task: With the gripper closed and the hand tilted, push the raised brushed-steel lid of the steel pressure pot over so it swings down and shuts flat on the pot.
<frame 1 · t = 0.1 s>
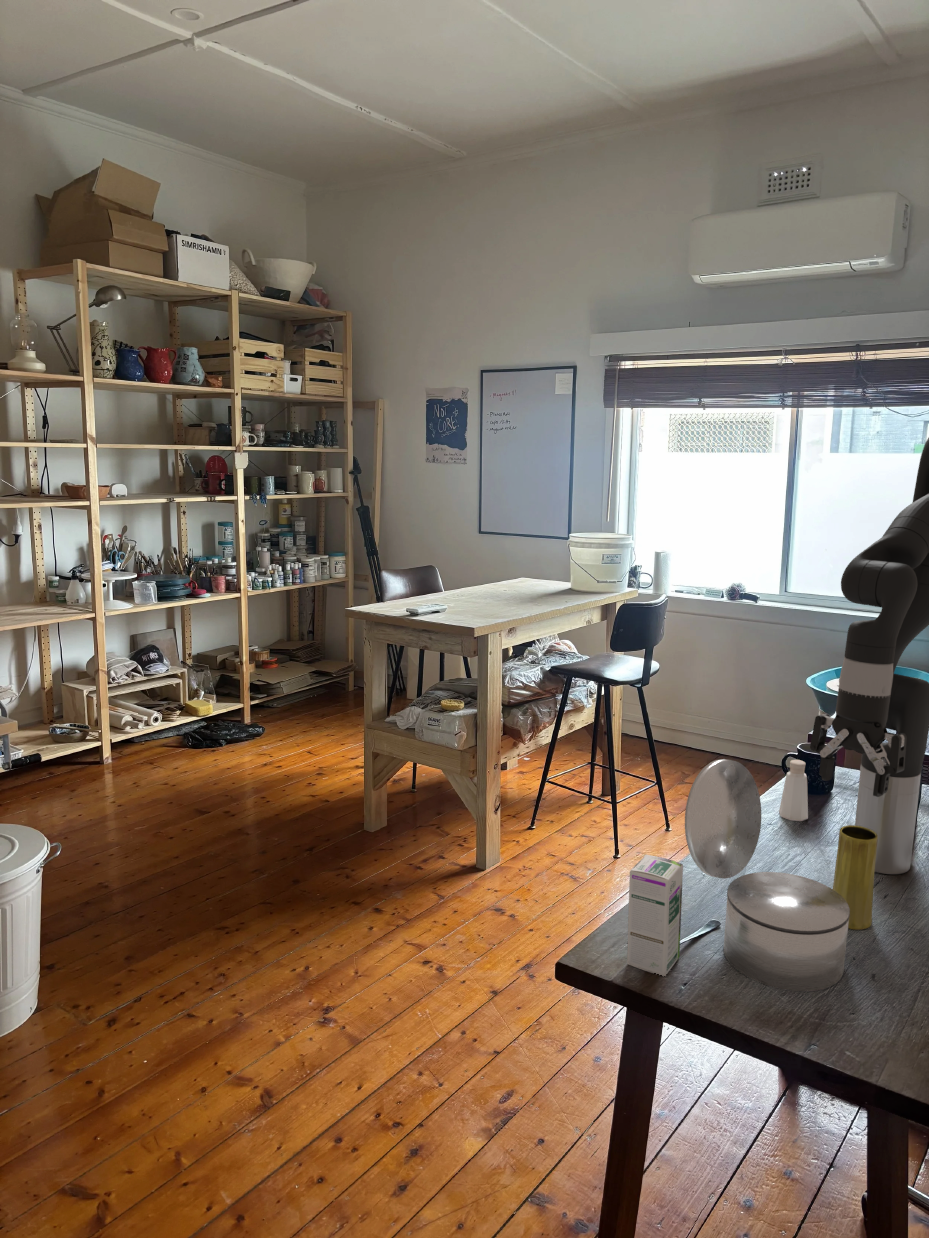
hand: (851, 787, 144), 17 cm above the table, tool pointing down, fingers open, 8 cm apart
syrup box: (652, 962, 127), on the table
vase: (849, 920, 138), on the table
pot lid: (719, 817, 133), point 17 cm above the table, hinge at 102.0°
pepper shaker: (793, 816, 175), on the table
steel pot: (782, 957, 128), on the table
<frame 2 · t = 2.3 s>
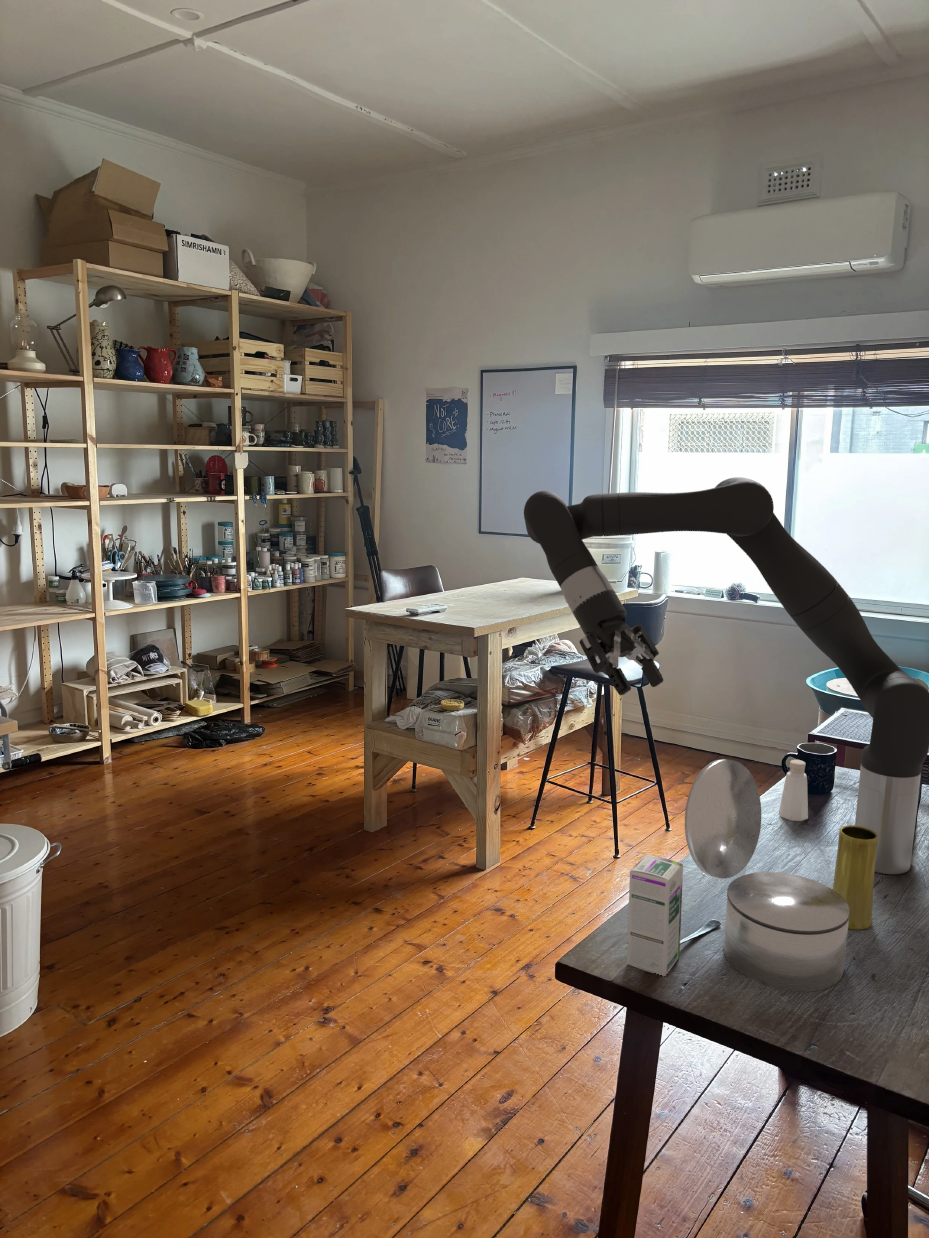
hand: (642, 688, 140), 34 cm above the table, tool tilted 40°, fingers open, 8 cm apart
nothing on the table moved.
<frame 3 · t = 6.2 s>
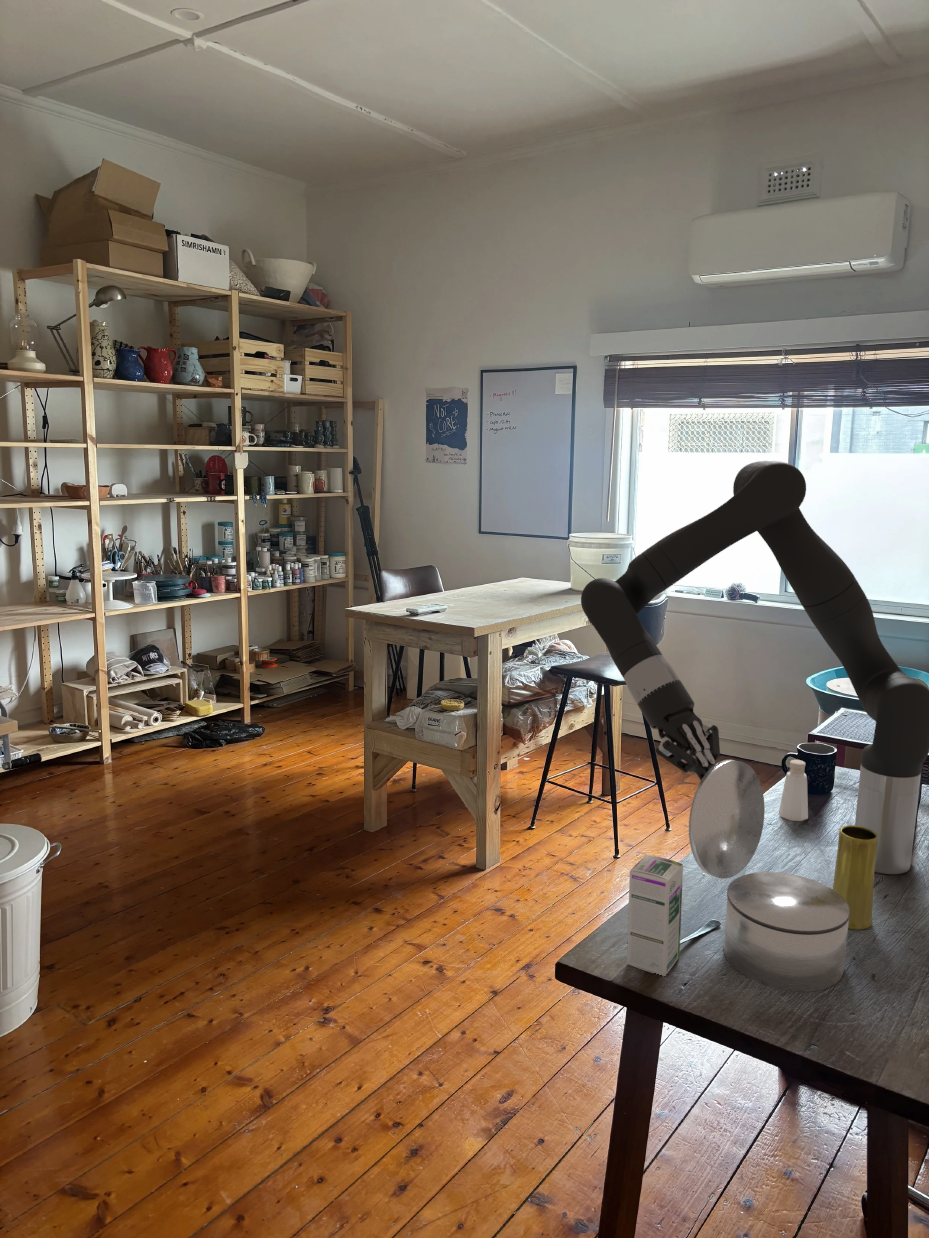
hand: (719, 791, 133), 21 cm above the table, tool tilted 45°, fingers closed
pot lid: (723, 817, 133), point 17 cm above the table, hinge at 97.8°
everything else where it was.
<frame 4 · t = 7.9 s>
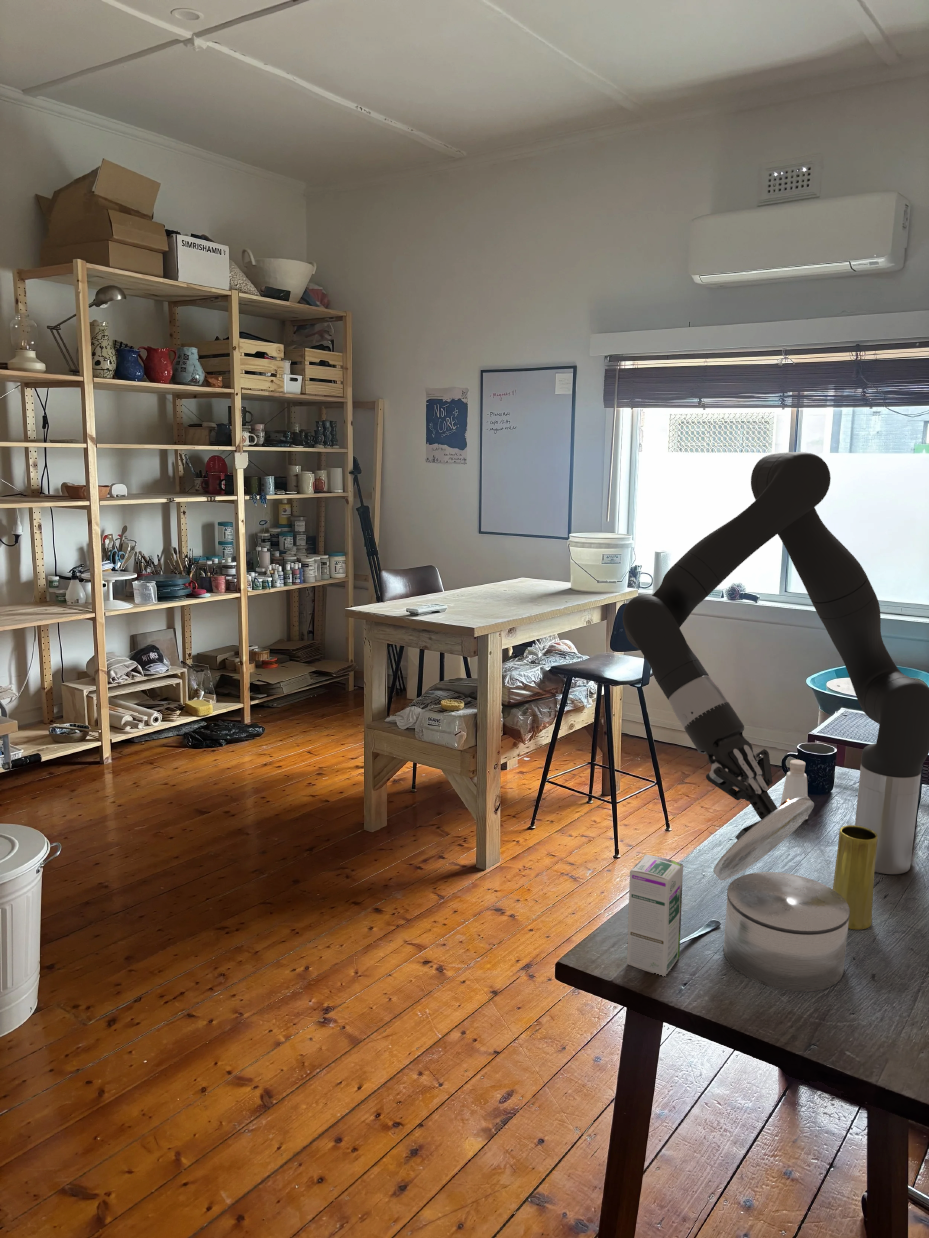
hand: (773, 819, 126), 20 cm above the table, tool tilted 45°, fingers closed
pot lid: (759, 833, 128), point 17 cm above the table, hinge at 56.6°, touching gripper
everything else where it was.
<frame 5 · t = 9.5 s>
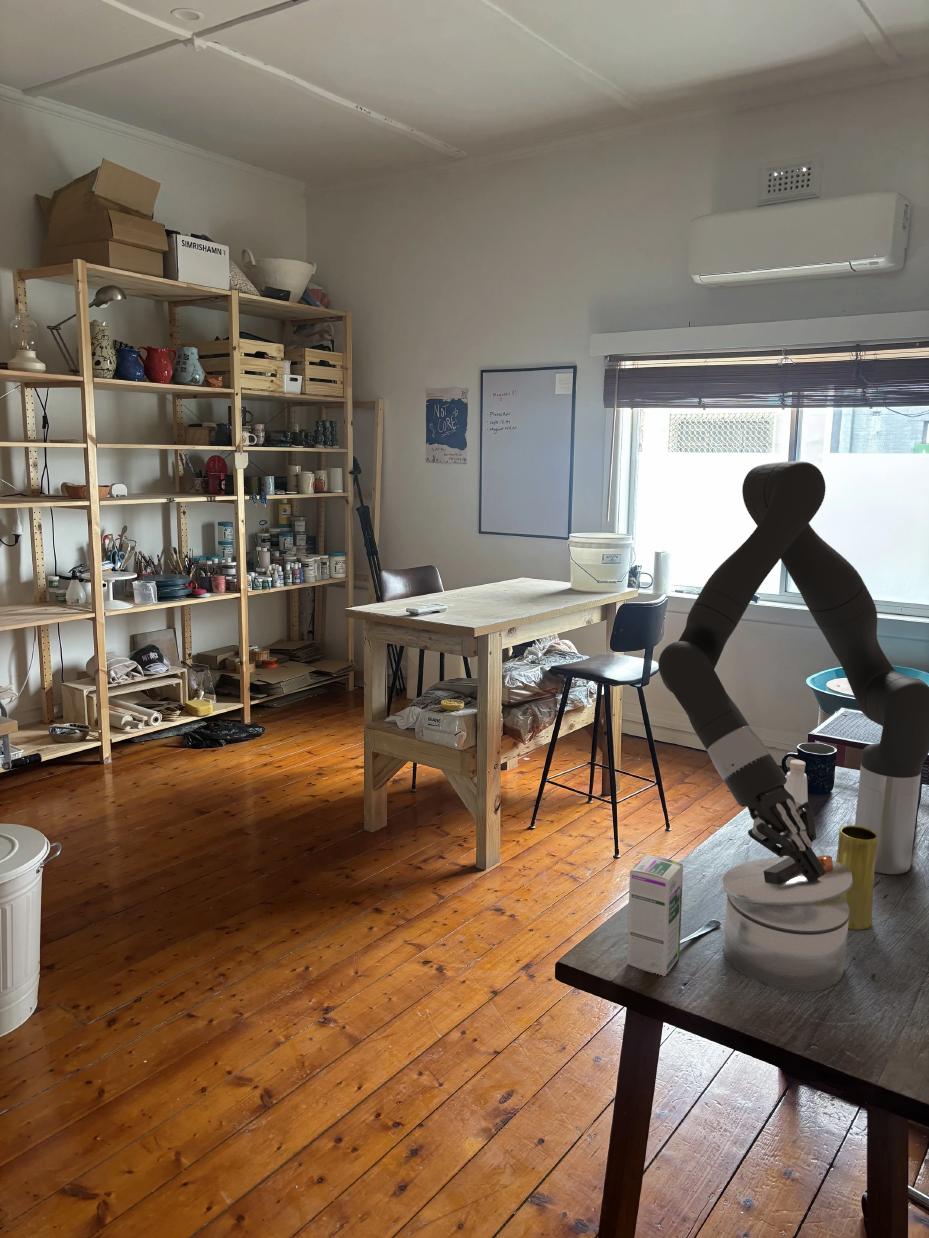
hand: (818, 877, 122), 14 cm above the table, tool tilted 45°, fingers closed
pot lid: (785, 874, 126), point 12 cm above the table, hinge at 14.4°
everything else where it was.
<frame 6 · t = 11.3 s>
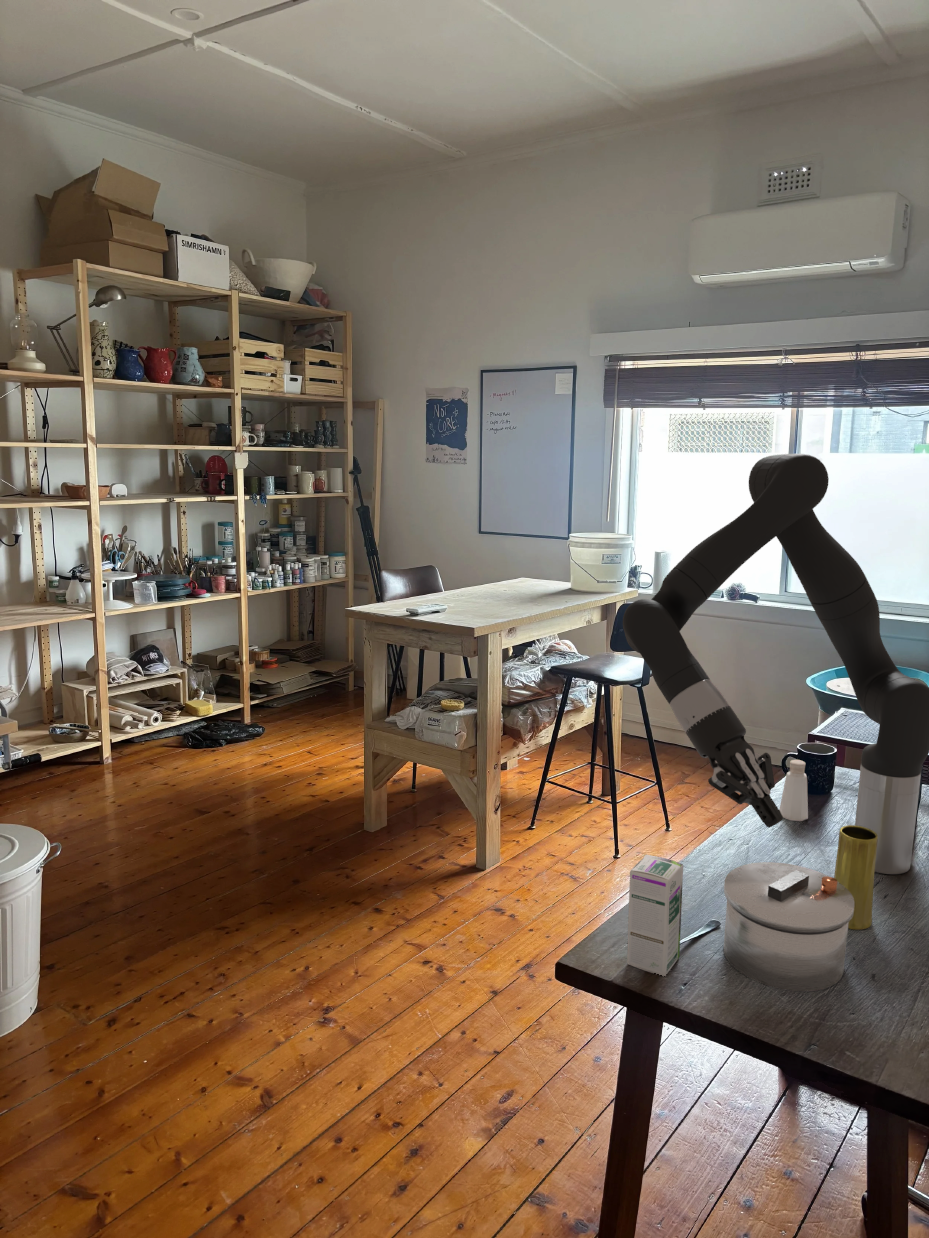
hand: (776, 823, 126), 19 cm above the table, tool tilted 45°, fingers closed
pot lid: (788, 889, 126), point 10 cm above the table, hinge at -0.1°
everything else where it was.
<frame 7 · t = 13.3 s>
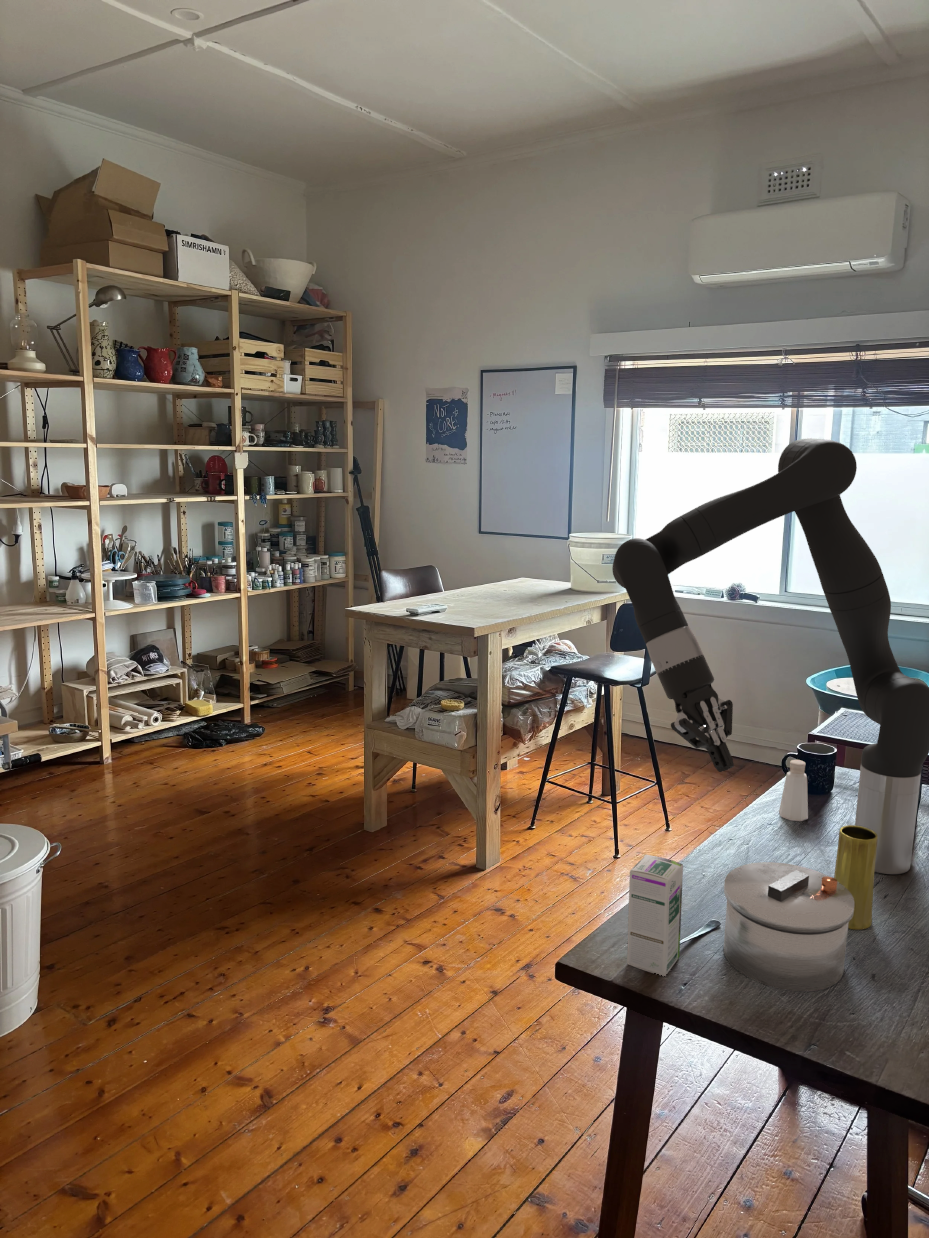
hand: (726, 769, 135), 23 cm above the table, tool tilted 30°, fingers closed
nothing on the table moved.
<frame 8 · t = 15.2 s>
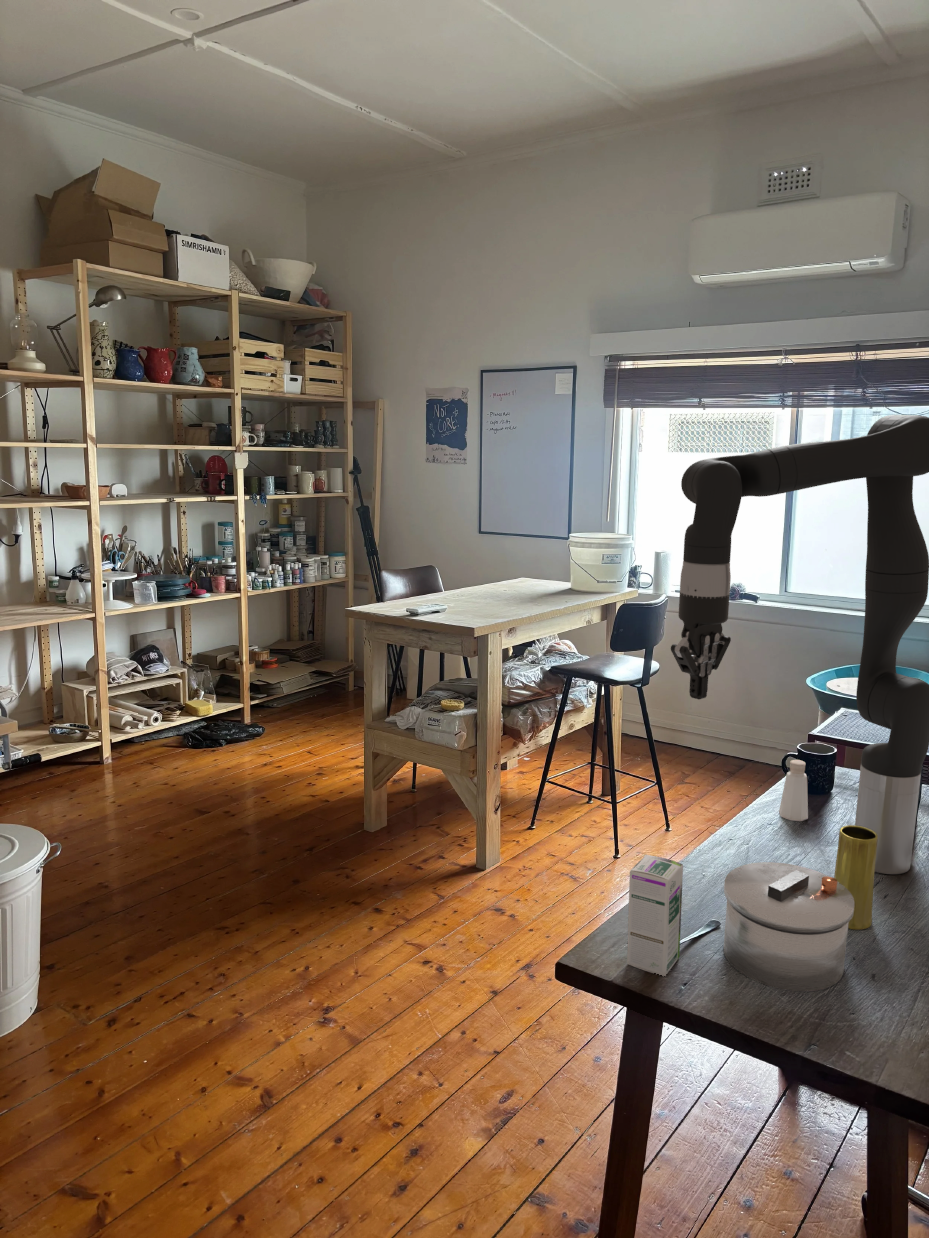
hand: (698, 697, 145), 31 cm above the table, tool pointing down, fingers closed
nothing on the table moved.
at the end: pot lid at +0° (first picture: +102°) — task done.
